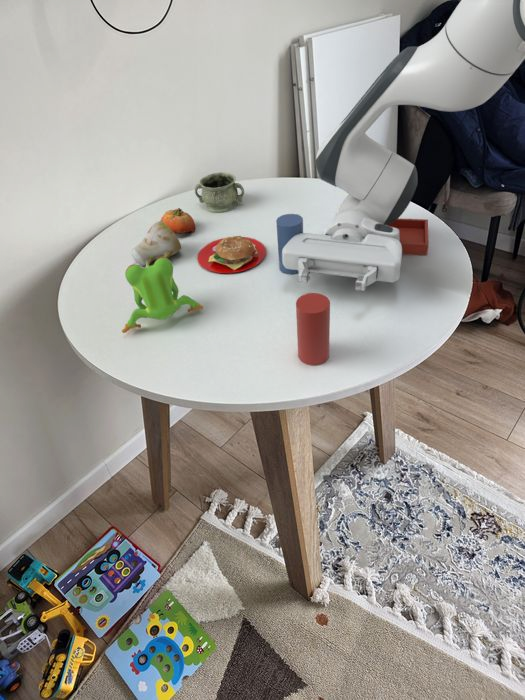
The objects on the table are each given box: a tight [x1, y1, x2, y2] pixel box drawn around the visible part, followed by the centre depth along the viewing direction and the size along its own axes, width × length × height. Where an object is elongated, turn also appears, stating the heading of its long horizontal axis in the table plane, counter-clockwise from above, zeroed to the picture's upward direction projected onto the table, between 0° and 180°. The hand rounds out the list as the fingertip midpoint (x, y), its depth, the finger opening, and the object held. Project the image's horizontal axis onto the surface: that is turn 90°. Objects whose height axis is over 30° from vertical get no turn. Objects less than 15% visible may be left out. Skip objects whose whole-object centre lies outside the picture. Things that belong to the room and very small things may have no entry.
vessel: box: [194, 172, 245, 213], centre depth 115 cm, size 12×9×6 cm
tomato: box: [160, 207, 196, 234], centre depth 108 cm, size 8×7×7 cm
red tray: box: [387, 217, 429, 256], centre depth 98 cm, size 10×10×2 cm
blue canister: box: [275, 213, 304, 275], centre depth 91 cm, size 5×5×10 cm
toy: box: [121, 257, 204, 334], centre depth 83 cm, size 14×9×10 cm, turn 112°
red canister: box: [295, 292, 331, 366], centre depth 72 cm, size 5×5×10 cm
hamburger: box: [197, 235, 267, 274], centre depth 97 cm, size 14×14×6 cm
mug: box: [130, 220, 182, 267], centre depth 99 cm, size 8×10×10 cm
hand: (330, 283), depth 78 cm, fingers open, 8 cm apart
